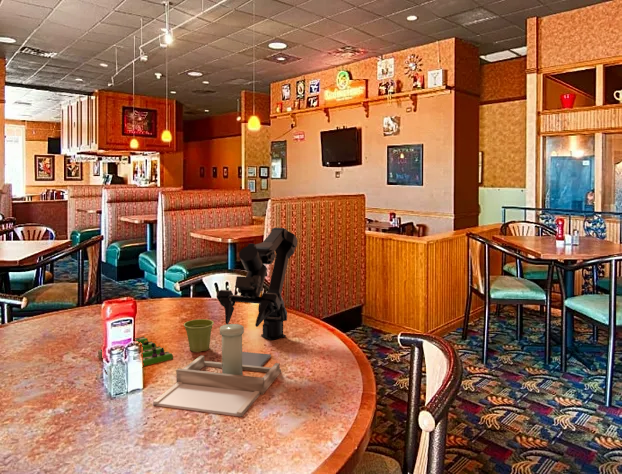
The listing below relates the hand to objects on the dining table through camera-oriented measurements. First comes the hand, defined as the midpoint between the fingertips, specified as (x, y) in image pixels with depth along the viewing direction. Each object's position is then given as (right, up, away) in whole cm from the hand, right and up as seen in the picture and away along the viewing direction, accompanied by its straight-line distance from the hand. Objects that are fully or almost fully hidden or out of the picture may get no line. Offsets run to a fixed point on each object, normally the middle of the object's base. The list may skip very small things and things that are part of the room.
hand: (241, 324), depth 145 cm
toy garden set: (-37, -12, +11) cm, 40 cm away
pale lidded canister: (-2, -13, -5) cm, 14 cm away
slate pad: (+1, -12, +6) cm, 13 cm away
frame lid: (-6, -15, -20) cm, 26 cm away
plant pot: (-16, -11, +16) cm, 25 cm away
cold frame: (-2, -14, -7) cm, 15 cm away
